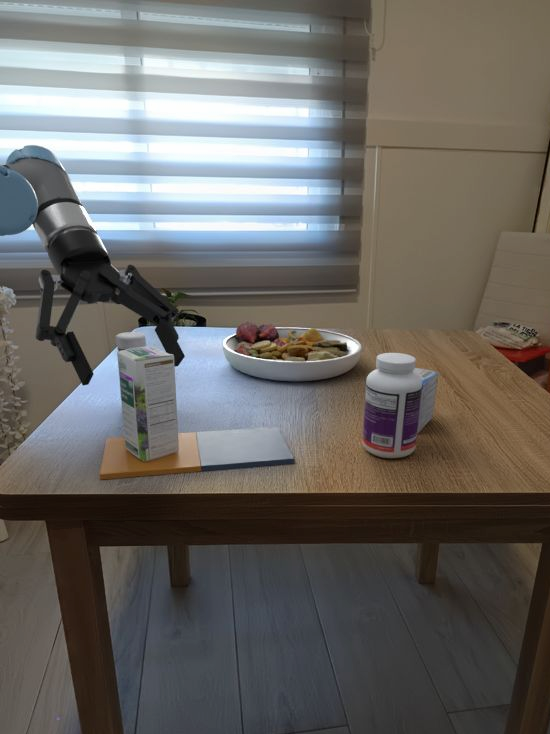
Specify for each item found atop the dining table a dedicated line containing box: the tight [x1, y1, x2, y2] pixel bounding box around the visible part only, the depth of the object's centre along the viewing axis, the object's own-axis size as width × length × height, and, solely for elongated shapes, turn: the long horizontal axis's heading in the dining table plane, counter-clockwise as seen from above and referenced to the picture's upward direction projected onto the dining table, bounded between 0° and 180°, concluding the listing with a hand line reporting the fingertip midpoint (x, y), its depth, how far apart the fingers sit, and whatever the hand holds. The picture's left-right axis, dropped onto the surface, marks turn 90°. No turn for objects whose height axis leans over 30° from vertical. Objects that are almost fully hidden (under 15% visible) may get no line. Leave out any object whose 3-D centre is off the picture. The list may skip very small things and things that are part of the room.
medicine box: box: [413, 367, 439, 435], centre depth 95 cm, size 8×4×9 cm, turn 152°
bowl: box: [222, 321, 362, 382], centre depth 125 cm, size 30×30×8 cm
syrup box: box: [116, 346, 179, 462], centre depth 79 cm, size 6×6×14 cm
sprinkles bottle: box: [115, 331, 147, 352], centre depth 95 cm, size 5×5×14 cm
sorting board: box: [99, 426, 295, 481], centre depth 83 cm, size 26×12×1 cm, turn 105°
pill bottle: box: [362, 352, 422, 459], centre depth 84 cm, size 8×8×14 cm
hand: (136, 370), depth 78 cm, fingers open, 13 cm apart
